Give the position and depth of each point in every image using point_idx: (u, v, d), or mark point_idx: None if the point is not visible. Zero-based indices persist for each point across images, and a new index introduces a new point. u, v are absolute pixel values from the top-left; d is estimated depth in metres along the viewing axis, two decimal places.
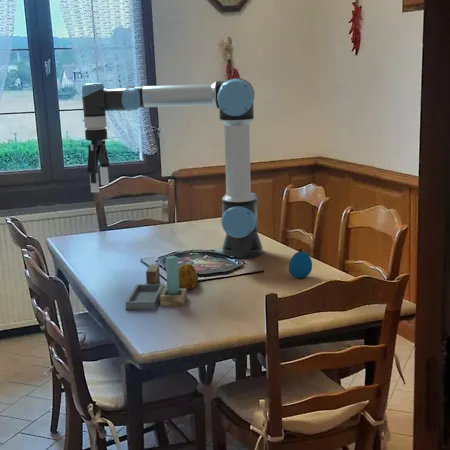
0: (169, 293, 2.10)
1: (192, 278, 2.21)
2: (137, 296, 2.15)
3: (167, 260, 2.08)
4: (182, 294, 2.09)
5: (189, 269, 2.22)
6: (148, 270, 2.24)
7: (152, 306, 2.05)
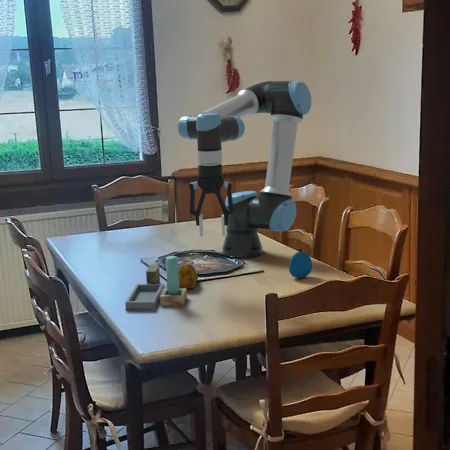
0: (169, 293, 2.10)
1: (192, 278, 2.21)
2: (137, 296, 2.15)
3: (167, 260, 2.08)
4: (182, 294, 2.09)
5: (189, 269, 2.22)
6: (148, 270, 2.24)
7: (152, 306, 2.05)
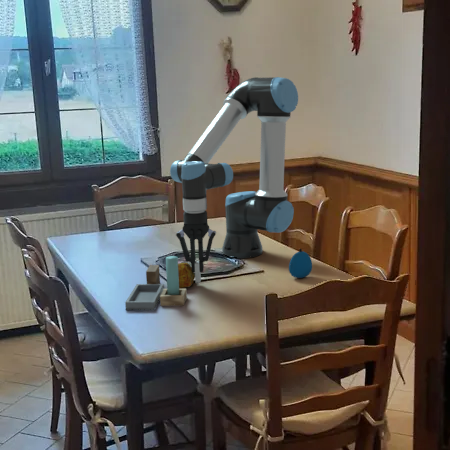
0: (169, 293, 2.10)
1: (189, 277, 2.22)
2: (137, 296, 2.15)
3: (167, 260, 2.08)
4: (182, 294, 2.09)
5: (186, 268, 2.23)
6: (148, 270, 2.24)
7: (152, 306, 2.05)
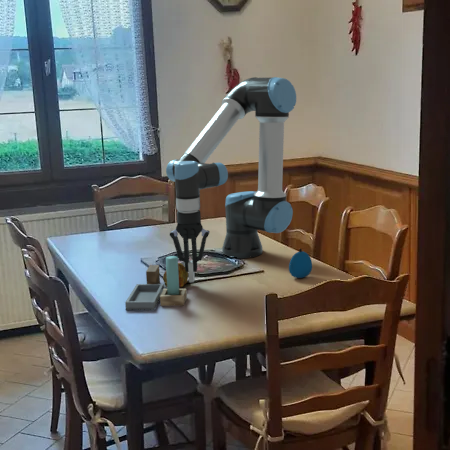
0: (169, 293, 2.10)
1: (181, 277, 2.22)
2: (137, 296, 2.15)
3: (167, 260, 2.08)
4: (182, 294, 2.09)
5: (178, 268, 2.23)
6: (148, 270, 2.24)
7: (152, 306, 2.05)
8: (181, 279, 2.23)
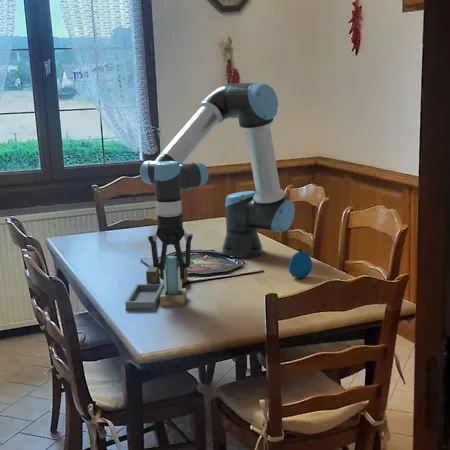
0: (169, 293, 2.10)
1: None
2: (137, 296, 2.15)
3: (167, 260, 2.08)
4: (182, 294, 2.09)
5: (178, 267, 2.24)
6: (148, 270, 2.24)
7: (152, 306, 2.05)
8: None
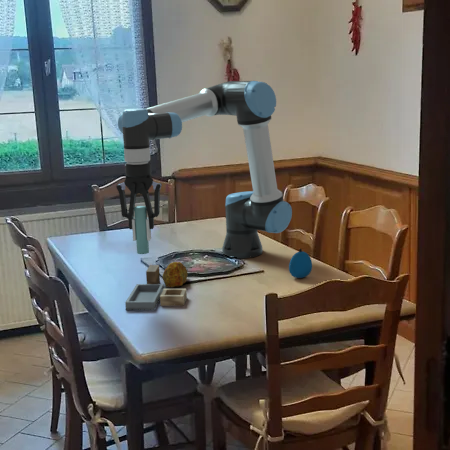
0: (138, 243, 2.08)
1: (180, 276, 2.23)
2: (137, 296, 2.15)
3: (135, 209, 2.05)
4: (182, 294, 2.09)
5: (178, 267, 2.24)
6: (148, 270, 2.24)
7: (152, 306, 2.05)
8: (180, 278, 2.24)
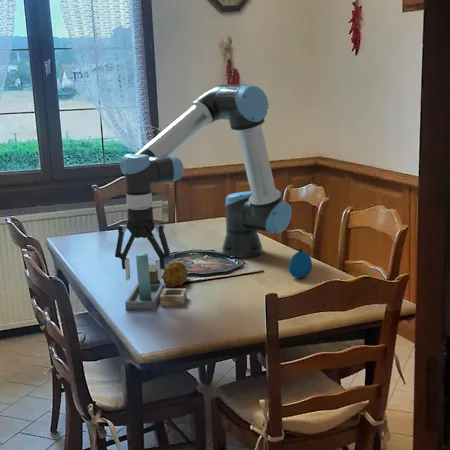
0: (140, 290, 2.11)
1: (180, 275, 2.24)
2: (137, 296, 2.15)
3: (137, 257, 2.09)
4: (182, 294, 2.09)
5: (178, 266, 2.25)
6: None
7: (152, 306, 2.05)
8: (180, 277, 2.24)
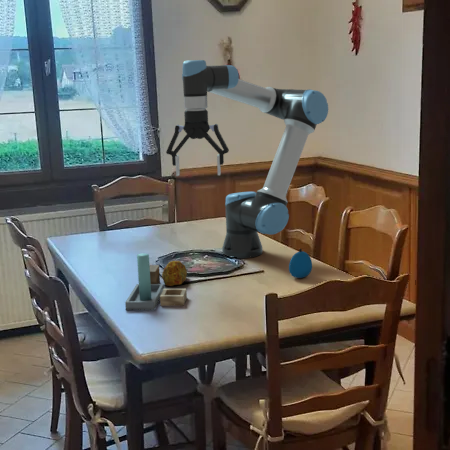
0: (140, 290, 2.11)
1: (179, 275, 2.25)
2: (137, 296, 2.15)
3: (138, 257, 2.09)
4: (182, 294, 2.09)
5: (177, 266, 2.25)
6: None
7: (152, 306, 2.05)
8: (179, 277, 2.25)
